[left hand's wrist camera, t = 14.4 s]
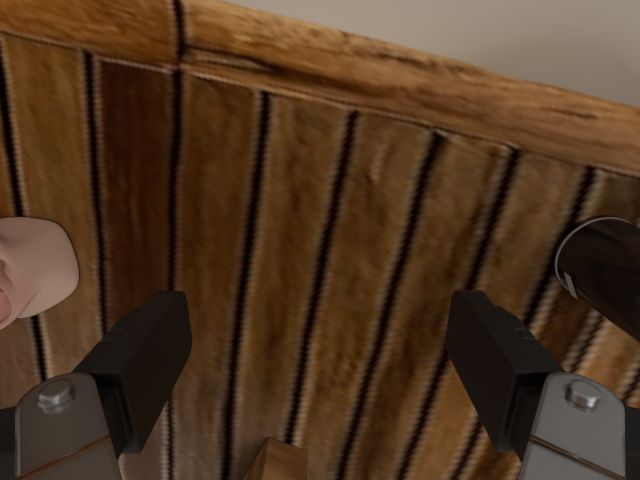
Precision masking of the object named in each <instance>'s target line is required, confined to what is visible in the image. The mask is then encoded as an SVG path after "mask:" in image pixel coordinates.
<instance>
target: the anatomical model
mask: <svg viewBox="0 0 640 480" xmlns="http://www.w3.org/2000/svg"><path fill="white" fill-rule="evenodd" d="M78 281H79V268H78V263H77V259H76V255H75V252H74V249H73V247H72V244H71V242H70V240H69V238H68V236H67V234H66V232H65V231H64V230H63V228H62V227H60V226H59V225H58V224H56V223H54V222H52V221H49V220H44V219H37V218H28V217H8V218H2V219H0V329H2V328H4V327H6V326H7V325H9V324H10V323H11V322H13V321H14V320H15V319H16V318H26V317H30V316H33V315H36V314H38V313H41V312H43V311H45V310H47V309H49V308H51V307H52V306H54V305H56V304H57V303H59V302H61V301H62V300H64V299H65V298H66V297H68V296H69V295H70V294H71V293H72V292H73V291H74V290H75V288H76V287H77V284H78Z"/></svg>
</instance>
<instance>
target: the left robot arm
mask: <svg viewBox="0 0 640 480" xmlns="http://www.w3.org/2000/svg"><path fill="white" fill-rule="evenodd" d="M553 271H554V275H555V277H556V278H557V280H558V281H559V282H560V283H561V284H562V285H563V286H564V287H565V288H567V289H568V290H570V294H571V295H572V296H574V297H575V298H576V299H577V296H579V297H580V298H581V299H582V300H584V301H585V302H586V303H587V304H589V305H590V306H591V307H593V308H594V309H595V310H596V311H598V312H599V313H600V314H602V315H603V316H604V317H605V318H607V319H608V320H609V321H611V322H612V323H613V324H615V325H616V326H617V327H618V328H620V329H621V330H622V331H624V332H625V333H626V334H627V335H629V336H630V337H631V338H633V339H634V340H635V341H637V342H638V343H639V344H640V227H639V226H636V225H634V224H632V223H630V222H628V221H626V220H624V219H622V218H619V217H615V216H599V217H594V218H591V219H588V220H585V221H583V222H581V223H579V224H578V225H576V226H575V227H573V228H572V229H571V230H570V231H569V232H567V233H566V235H565V236H564V237H563V238H562V239H561V241H560V242H559V244H558V246H557V248H556V250H555V252H554V256H553ZM576 295H577V296H576ZM446 346H447V351H448V354H449V357H450V359H451V361H452V363H453V365H454V367H455V369H456V371H457V373H458V375H459V377H460V379H461V381H462V383H463V385H464V387H465V389H466V391H467V393H468V395H469V397H470V399H471V401H472V403H473V405H474V407H475V409H476V411H477V413H478V415H479V417H480V419H481V421H482V423H483V425H484V427H485V429H486V431H487V433H488V435H489V437H490V439H491V441H492V443H493V445H494V447H495V449H496V451H497V452H516V453H517V455H518V457H519V459H520V461H521V463H522V466H521V469H520V473H519V477H518V480H640V409H637V408H633V407H628V406H624V405H623V404H622V402H621V401H620V399H619V398H618V397H617V396H616V395H615V394H614V393H613V392H612V391H611V390H609V389H608V388H607V387H605V386H604V385H602V384H600V383H598V382H596V381H594V380H592V379H590V378H587V377H585V376H582V375H578V374H574V373H567V372H566V371H565V370H564V369H563V368H562V367H561V366H560V365H559V364H558V362H557V361H556V360H555V359H554V358H553V357H552V356H551V355H550V354H549V352H548V351H547V350H546V349H545V348H544V347H543V346H542V345H541V343H540V342H539V341H538V340H536V338H535V337H534V336H533V335H532V333H531V332H530V331H527V328H526V327H525V326H524V324H523V323H522V322H521V321H520V320H519V319H518V318H517V317H516V316H515V315H513V314H511V313H510V312H508V311H506V310H505V309H503V308H502V307H495V306H494V304H493V303H492V302H491V301H490V300H489V298H488V297H487V296H486V295H485V294H484V292H483V291H480V290H456V291H454V292H453V294H452V298H451V305H450V312H449V319H448V326H447V332H446ZM191 347H192V333H191V326H190V319H189V312H188V305H187V299H186V295H185V293H184V292H183V291H156V292H155V293H154V294H153V295H152V296H151V297H150V299H149V300H148V301H147V302H146V303H145V305H144V306H143V307H142V308H136V309H134V310H132V311H131V312H129V313H127V314H126V315H124V316H123V317H121V318H120V319H119V320H118V321H117V322H116V324H115V325H114V326H113V327H112V328H111V329H110V331H108V332H107V333H106V335H105V336H104V337H103V338H102V341H99V342H98V343H97V345H96V346H95V347H94V348H93V349H92V350H91V351H90V352H89V353H88V355H87V356H86V357H85V358H84V359H83V360H82V361H81V362H80V363H79V365H78V366H77V367H76V368H75V369H74V370H73V371H72V372H71V373H66V374H62V375H58V376H55V377H53V378H50V379H48V380H46V381H44V382H42V383H40V384H38V385H36V386H35V387H33V388H32V389H31V390H29V391H28V392H27V393H26V394H25V395H24V396H23V397H22V398H21V399H20V401H19V402H18V404H17V406H14V407H10V408H5V409H1V410H0V480H122V477H121V473H120V469H119V466H118V462H117V460H118V458H119V456H120V455H121V453H141V451H142V449H143V447H144V445H145V443H146V441H147V439H148V437H149V435H150V433H151V431H152V429H153V427H154V425H155V423H156V421H157V419H158V417H159V415H160V413H161V411H162V409H163V407H164V405H165V403H166V401H167V399H168V397H169V395H170V393H171V392H172V390H173V388H174V386H175V384H176V382H177V380H178V378H179V376H180V374H181V372H182V370H183V368H184V366H185V364H186V362H187V360H188V358H189V355H190V352H191Z"/></svg>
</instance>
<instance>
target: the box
mask: <svg viewBox="0 0 640 480" xmlns="http://www.w3.org/2000/svg"><path fill="white" fill-rule="evenodd" d="M307 461H308V451H305V450H302V449H300V448H297V447H294V446H292V445H289V444H286V443H284V442H281V441H278V440H276V439H273V438H270V437H269V438H268V439H267V441H266V443H265V444H264V446H263V447H262V449H261V451H260V452H259V454H258V455H257V457H256V459H255V460H254V462H253V463H252V465H251V467H250V468H249V470H248V471H247V473H246V475H245V476H244V478H243V479H242V480H307Z"/></svg>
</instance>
